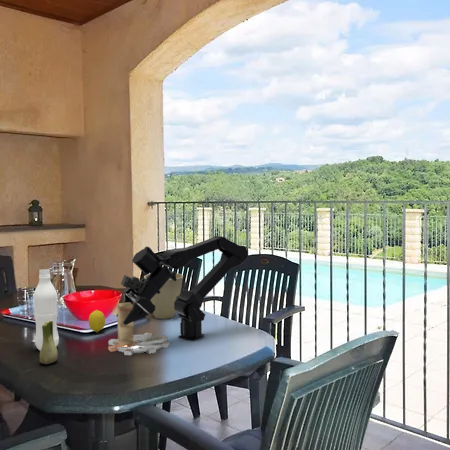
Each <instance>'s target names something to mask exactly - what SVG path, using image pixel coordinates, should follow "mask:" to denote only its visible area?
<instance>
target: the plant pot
mask: <svg viewBox="0 0 450 450" xmlns="http://www.w3.org/2000/svg"><path fill="white" fill-rule="evenodd" d="M149 274H150V273H147V274H146V275H144V276H143V278H145V279H146V278H147V277H148V276H149ZM183 279H184V275H183V274H181V273H177V272H176V281H174V280H172V279H169V280H168V281H167V282H166V283H165V284H164V286H163V287H162V288H161V289H160V290H159V291H160V293H159V294H156V295H155V296H154V297H153V298H152V299H151V300H150V301H151V302H152V303H153V304H154V305H155V311H154V312H153V313H152V314H153V315H154V316H153V317H154V318H155V319H158V320H160V319H161V320H165V319H166V320H168V319H171V318H174V316H175V313H176V311H175V309H174V302H175V301H176V299H177V298H176V297H177V296H179V295H180V294H181V292H182V286H183Z"/></svg>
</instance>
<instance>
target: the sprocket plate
mask: <svg viewBox="0 0 450 450" xmlns="http://www.w3.org/2000/svg"><path fill="white" fill-rule="evenodd" d="M133 342H134V344H133V345H125V346H120V344H119V343H118V338H110V339H109V340H108V346H107V347H108V348H107V349H108V351H109V352H111V353H113V352H120V353H124V356H132V355H134V354H145V353H144V352H146V353H147V354H149V355H152V354H156V353H157V350H160V349H163V348H165V349H167V348H169V347H170V341H168V336H166V335H160V336H159V335H155V334H153V333H152V332H145V333H144V334H133ZM151 353H152V354H151Z"/></svg>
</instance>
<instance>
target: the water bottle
mask: <svg viewBox="0 0 450 450" xmlns="http://www.w3.org/2000/svg"><path fill="white" fill-rule="evenodd" d="M50 271H51V270H50V269H49V268H44V269H43V268H41V269H39V271H38V272H39V276H38V283H37V285H36V287H35V290H34V292H33V294H32V295H33V296H32V299H33V315H34V319H35V337H34V345H35V347H36V348H37V349H38V350H39V352H40V351H41V348H42V344H43V330H42V325H44V324H45V323H46V322H49V321H53V339H54V343H55V346H56V348H57V347H58V345H59V341H60V337H59V332H58V326H57V320H58V319H57V316H58V312H59V311H58V310H59V309H58V292H57V290H56V288H55V286H54V284H53V283H52V281H51V274H50Z"/></svg>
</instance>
